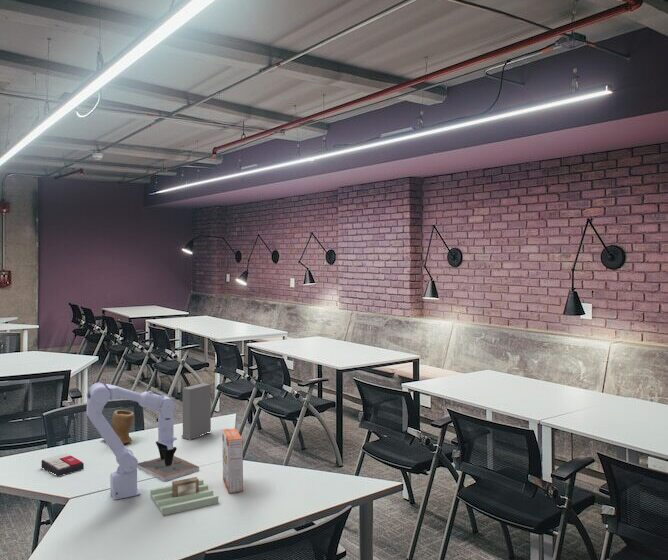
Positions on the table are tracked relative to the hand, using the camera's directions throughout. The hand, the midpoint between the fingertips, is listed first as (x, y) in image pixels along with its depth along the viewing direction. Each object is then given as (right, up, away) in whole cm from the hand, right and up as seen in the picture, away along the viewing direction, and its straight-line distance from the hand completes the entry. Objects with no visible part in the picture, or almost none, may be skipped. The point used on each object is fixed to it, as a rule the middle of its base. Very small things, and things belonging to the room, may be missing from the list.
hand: (166, 462), depth 226 cm
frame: (+11, -9, -12) cm, 18 cm away
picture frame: (-4, -9, +18) cm, 21 cm away
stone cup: (-38, -7, +53) cm, 66 cm away
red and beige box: (-49, -9, +18) cm, 53 cm away
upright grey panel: (-3, -7, +63) cm, 63 cm away
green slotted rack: (+10, -10, -12) cm, 19 cm away
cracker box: (+26, -10, +1) cm, 28 cm away
